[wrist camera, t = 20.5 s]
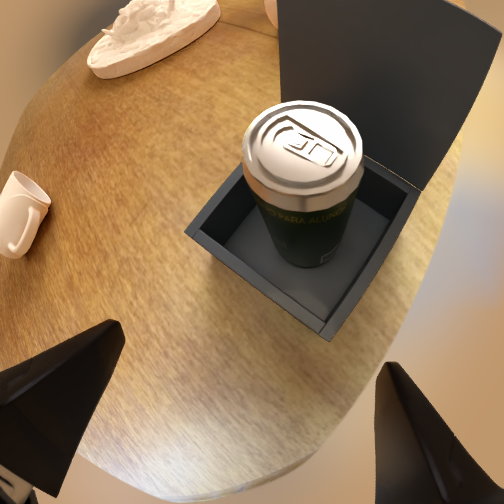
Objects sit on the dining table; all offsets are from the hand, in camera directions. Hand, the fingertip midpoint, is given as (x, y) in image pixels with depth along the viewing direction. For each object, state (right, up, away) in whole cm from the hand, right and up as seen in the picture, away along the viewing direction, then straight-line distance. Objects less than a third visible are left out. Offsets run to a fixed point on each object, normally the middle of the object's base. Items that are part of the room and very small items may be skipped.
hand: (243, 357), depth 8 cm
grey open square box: (+5, +4, +14) cm, 16 cm away
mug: (-31, +7, +22) cm, 39 cm away
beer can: (+5, +5, +14) cm, 15 cm away
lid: (+6, +13, +3) cm, 15 cm away
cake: (-19, +46, +31) cm, 59 cm away
